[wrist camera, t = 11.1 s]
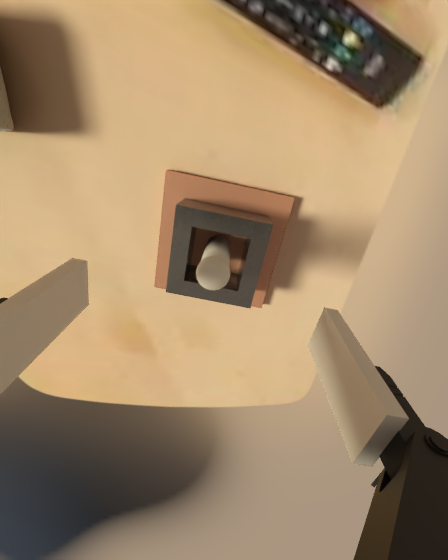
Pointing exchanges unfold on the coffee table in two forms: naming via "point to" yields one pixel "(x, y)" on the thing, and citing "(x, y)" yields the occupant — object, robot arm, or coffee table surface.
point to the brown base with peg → (214, 245)
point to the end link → (222, 221)
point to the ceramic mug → (4, 108)
